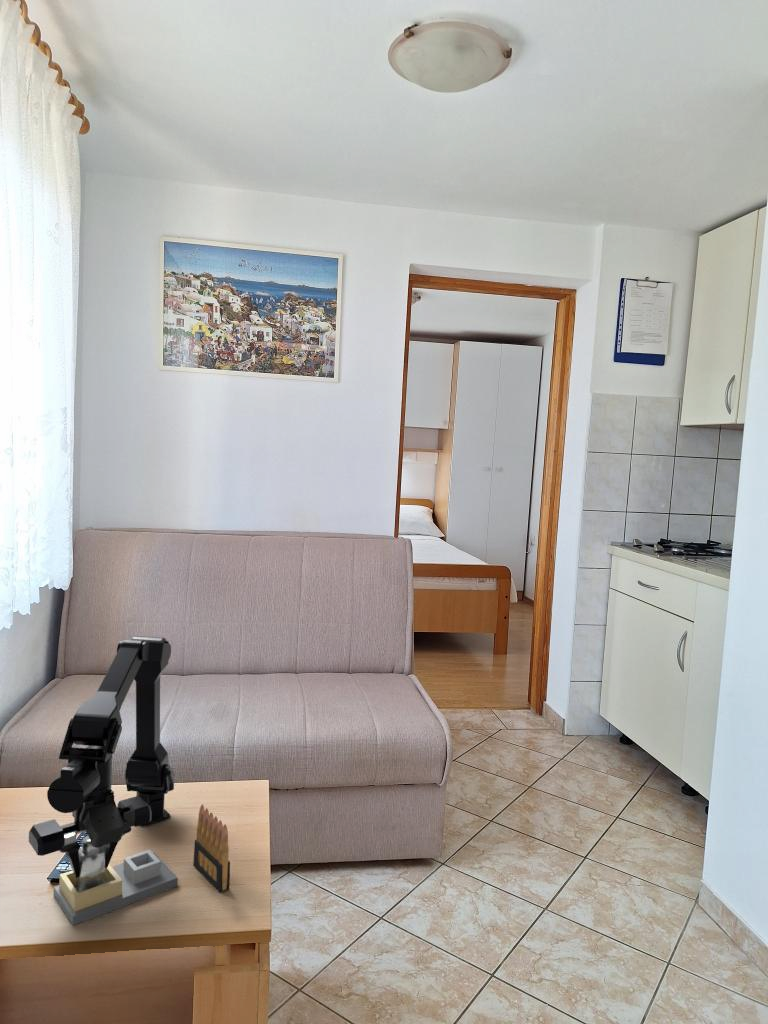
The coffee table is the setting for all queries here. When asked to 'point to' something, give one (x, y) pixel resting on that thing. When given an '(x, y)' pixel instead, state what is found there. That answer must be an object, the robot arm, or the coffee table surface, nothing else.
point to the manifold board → (115, 887)
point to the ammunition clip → (212, 850)
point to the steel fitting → (91, 865)
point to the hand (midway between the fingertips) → (91, 871)
